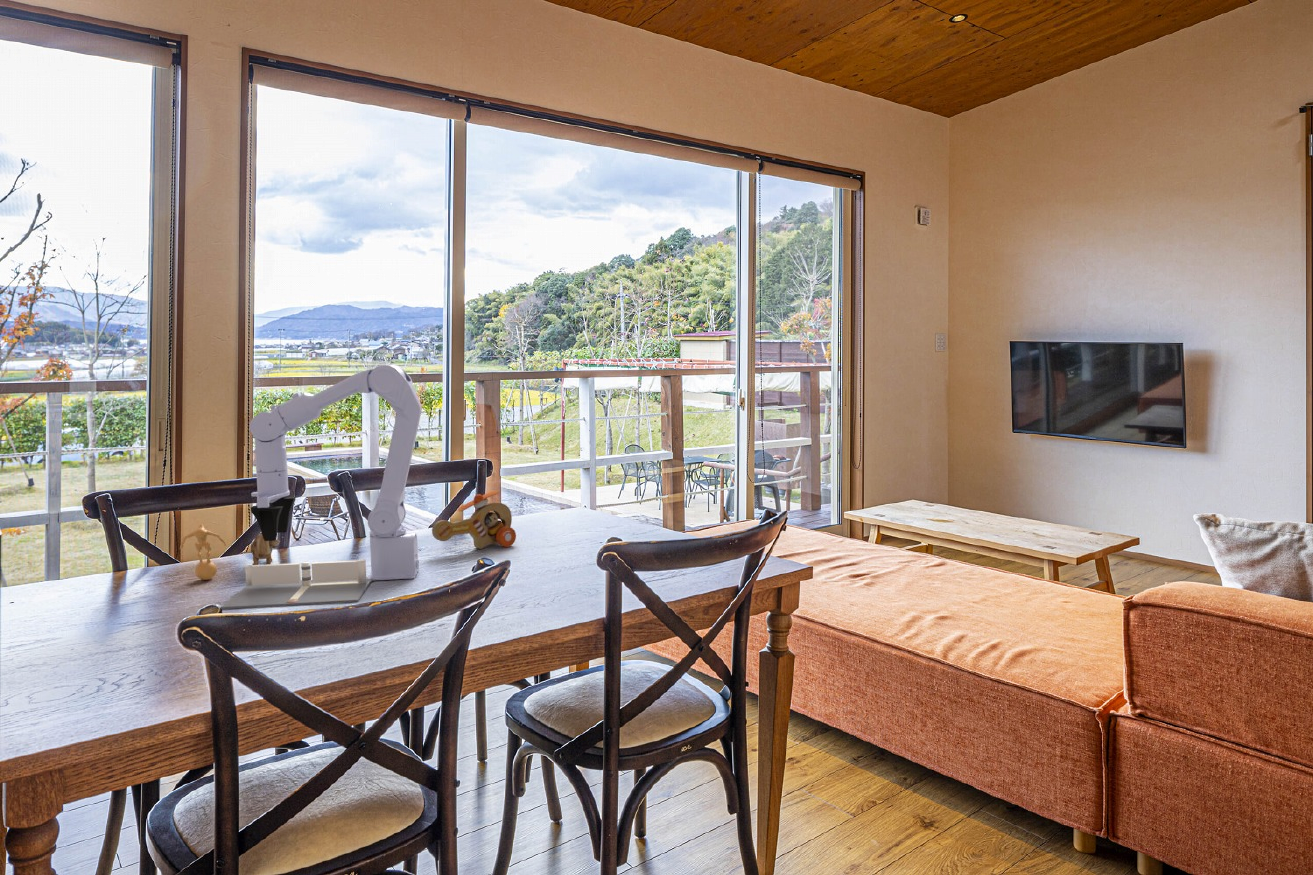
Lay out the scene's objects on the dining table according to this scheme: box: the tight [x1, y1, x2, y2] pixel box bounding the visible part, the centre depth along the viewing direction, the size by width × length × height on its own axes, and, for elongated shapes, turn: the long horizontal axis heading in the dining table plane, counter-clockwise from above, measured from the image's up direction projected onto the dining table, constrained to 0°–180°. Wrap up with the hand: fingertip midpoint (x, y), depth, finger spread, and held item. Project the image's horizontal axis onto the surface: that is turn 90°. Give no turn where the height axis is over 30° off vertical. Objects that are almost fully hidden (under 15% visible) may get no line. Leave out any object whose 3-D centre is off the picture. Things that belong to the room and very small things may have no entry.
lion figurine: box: [250, 532, 281, 565], centre depth 179 cm, size 15×5×9 cm, turn 34°
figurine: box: [179, 524, 227, 581], centre depth 168 cm, size 8×6×12 cm
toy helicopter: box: [431, 489, 517, 550], centre depth 194 cm, size 8×21×14 cm, turn 134°
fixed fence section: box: [300, 559, 367, 586], centre depth 164 cm, size 12×2×5 cm, turn 99°
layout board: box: [220, 576, 372, 610], centre depth 160 cm, size 24×16×1 cm, turn 99°
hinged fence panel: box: [244, 562, 302, 586], centre depth 162 cm, size 10×1×4 cm, turn 99°
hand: (275, 536), depth 167 cm, fingers open, 7 cm apart
